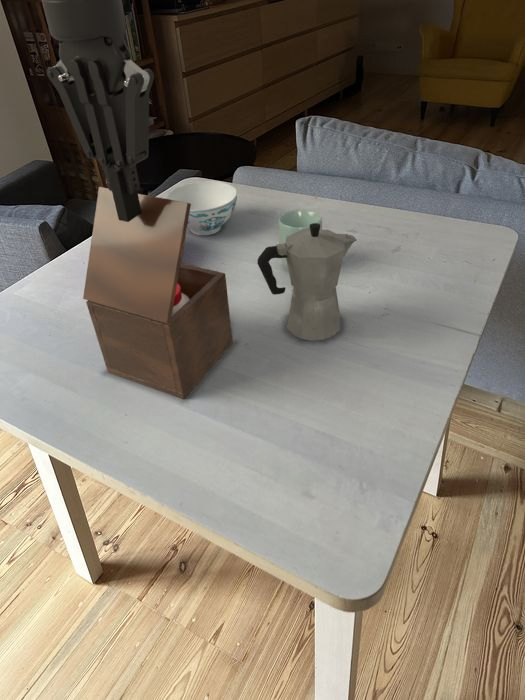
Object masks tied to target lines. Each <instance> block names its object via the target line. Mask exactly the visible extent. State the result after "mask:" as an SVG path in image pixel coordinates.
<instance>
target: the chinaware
mask: <svg viewBox="0 0 525 700" xmlns="http://www.w3.org/2000/svg"><path fill="white" fill-rule="evenodd" d="M165 199H170V200H175V201H181V202H186V203H190V204H191V207H190V213H189V219H188V224H187V229H189V230H190V232H191V233H193V234H195V235H197V236H209V235H214V234H216V233H218V232H219V231H220V230H221V229H222V226H223V225H224V224H225V223H227V221H228V220H229V219H230V218H231V216H232V215H233V213H234V210H235V208H236V205H237V199H238V190H237V189H236V188H235V187H234V186H233V185H232V184H230V183H226V182H222V181H215V180H204V181H203V180H201V181H195V182H190V183H186V184H185V183H184V184H182V185H180V186H178V187H174V188H173V189H172V190H170V191H169V192H168V193H167V195H166V197H165Z"/></svg>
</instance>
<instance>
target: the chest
mask: <svg viewBox="0 0 525 700" xmlns="http://www.w3.org/2000/svg"><path fill="white" fill-rule="evenodd" d="M177 283H178V284H179V285H180V288H181V292H182V293H184V294H185V295H187V296H188V297H189V299H190V300H189V301H188V302H187V303H186V304H185V305H184V306H182V307H181V308H180V309H179V310H178V311H177V312H176V313H175V314H174V315H173V316H172V317H171V322H170V323H164V322H160V321H157V320H154V319H150V318H147V317H143V316H140V315H136V314H133V313H130V312H126V311H123V310H119V309H116V308H112V307H109V306H106V305H102V304H99V303H95V302H92V301H88V300H86V301H85V303H86V307H87V309H88V314H89V316H90V320H91V322H92V323H91V324H92V326H93V329H94V332H95V336H96V338H97V342H98V345H99V348H100V351H101V354H102V359H103V361H104V364H105V367H106V370H107V373H108V374H111V375H113V376H116V377H119V378H122V379H126V380H128V381H131V382H133V383H136V384H140V385H143V386H145V387H148V388H151V389H154V390H156V391H158V392H159V391H160V392H162V393H165V394H168V395H170V396H173V397H177V398H179V399H182V400H185V399H186V398H187V397H188V395H190V393H191V392H192V391H193V390H194V389H195V388H196V386H198V384H199V383H200V382H201V381H202V379H203V378H204V377H205V376H206V375H207V374H208V373H209V371H210V370H211V369H212V368H213V367H214V366H215V365H216V364H217V363H218V361H219V360H220V359H221V358H222V357H223V356H224V354H225V353H226V352H227V351H228V350H229V349H230V347H231V346H232V345H233V344H234V342H233V341H234V340H233V334H232V333H233V331H232V323H231V315H230V305H229V304H230V303H229V295H228V286H227V277H226V273H225V272H221V271H219V270H218V271H217V270H213V269H209V268H204V267H200V266H197V265H192V264H188V263H183V262H181V265H180V270H179V276H178V282H177Z"/></svg>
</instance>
